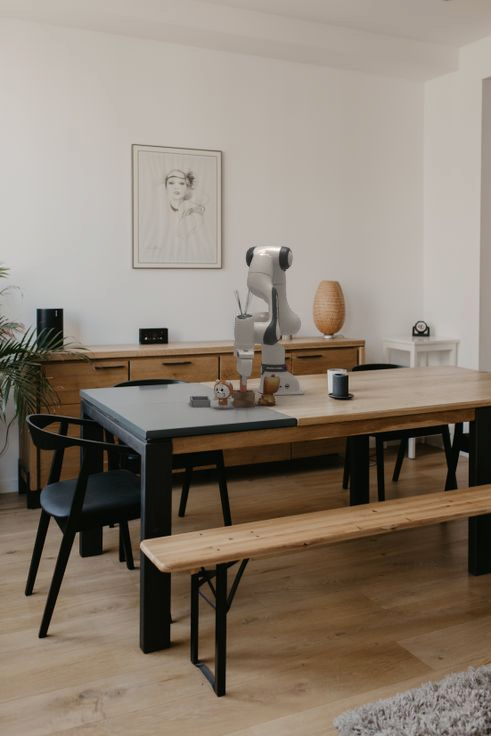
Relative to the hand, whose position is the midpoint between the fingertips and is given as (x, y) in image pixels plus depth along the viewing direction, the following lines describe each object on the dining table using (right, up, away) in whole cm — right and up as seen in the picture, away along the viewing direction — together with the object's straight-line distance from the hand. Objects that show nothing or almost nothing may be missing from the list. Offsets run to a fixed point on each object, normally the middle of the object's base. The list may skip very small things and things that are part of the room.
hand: (243, 384), depth 298 cm
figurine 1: (-9, -10, -8) cm, 16 cm away
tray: (-19, -9, -1) cm, 21 cm away
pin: (0, -9, +1) cm, 9 cm away
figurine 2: (+11, -9, +4) cm, 15 cm away
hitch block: (0, -9, +1) cm, 9 cm away
